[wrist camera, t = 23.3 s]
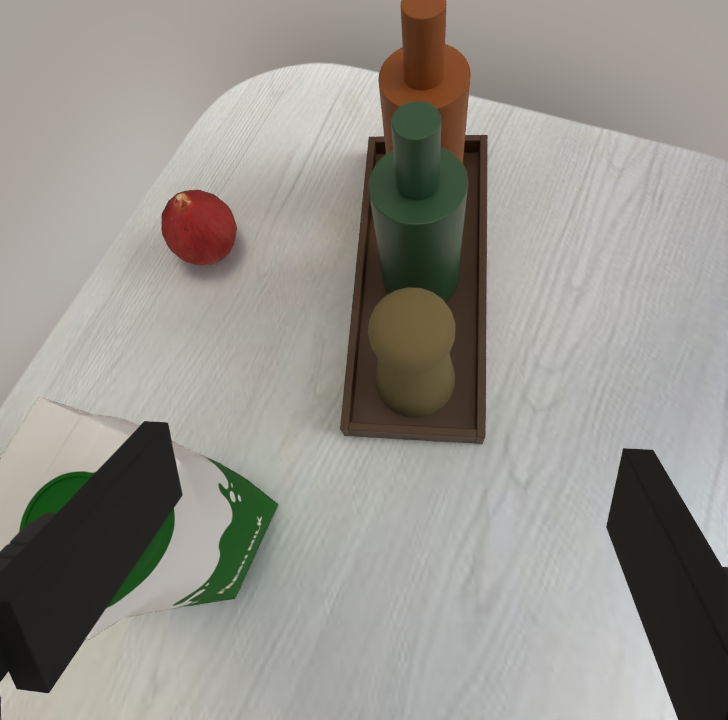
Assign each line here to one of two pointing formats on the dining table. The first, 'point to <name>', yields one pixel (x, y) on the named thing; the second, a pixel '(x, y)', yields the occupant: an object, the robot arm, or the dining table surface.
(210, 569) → the milk carton
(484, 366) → the tray
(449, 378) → the cork
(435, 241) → the green bottle
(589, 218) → the dining table surface
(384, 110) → the amber bottle
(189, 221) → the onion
